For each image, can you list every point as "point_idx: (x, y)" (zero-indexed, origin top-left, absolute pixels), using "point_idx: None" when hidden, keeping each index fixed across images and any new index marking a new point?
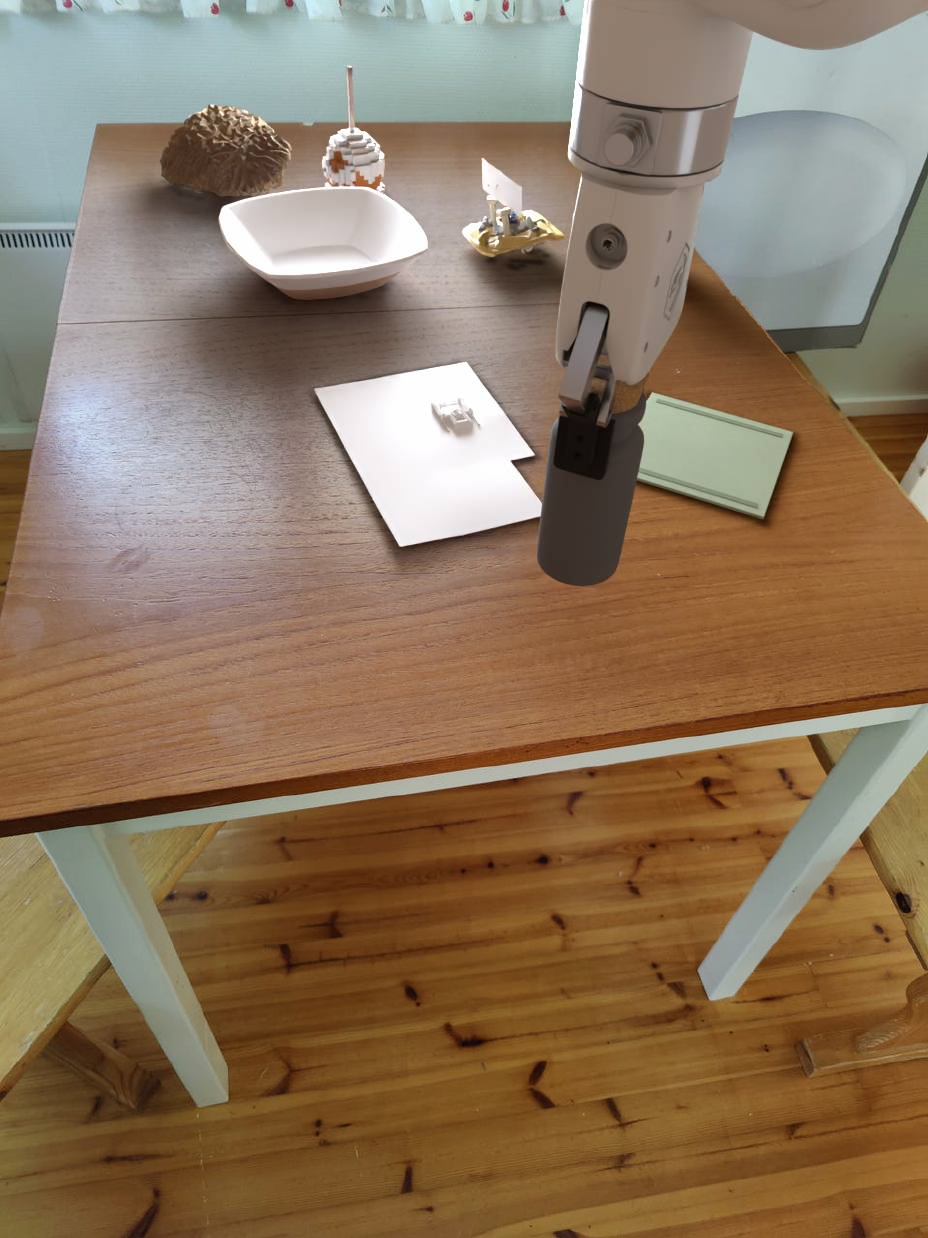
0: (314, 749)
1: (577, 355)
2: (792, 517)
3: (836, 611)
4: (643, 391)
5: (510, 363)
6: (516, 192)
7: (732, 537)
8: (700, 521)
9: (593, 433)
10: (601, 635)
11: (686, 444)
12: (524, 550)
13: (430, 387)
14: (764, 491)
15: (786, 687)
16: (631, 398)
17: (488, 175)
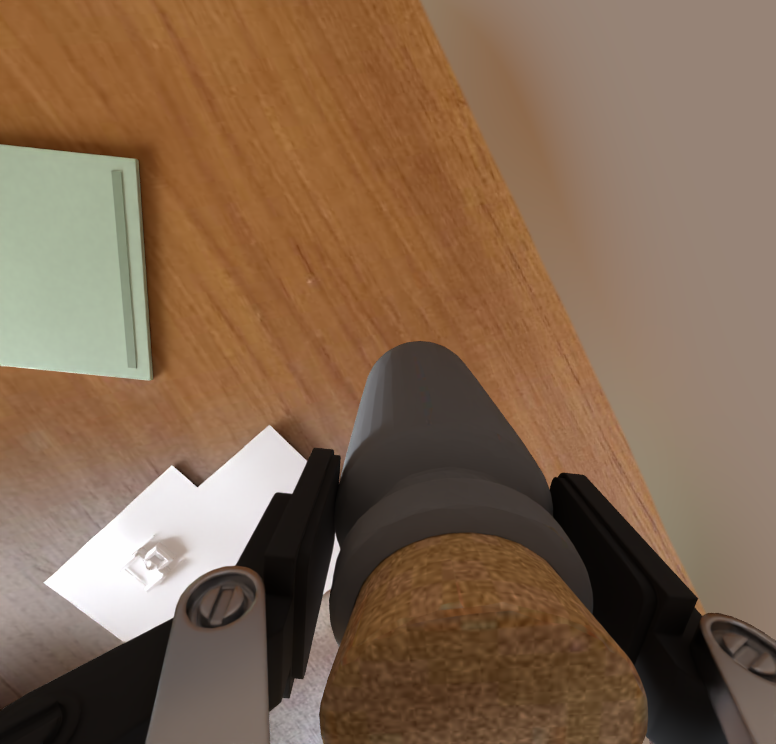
0: (639, 522)
1: None
2: (110, 115)
3: (276, 30)
4: (298, 492)
5: (10, 537)
6: None
7: (197, 199)
8: (187, 246)
9: (700, 618)
10: (430, 324)
11: (38, 292)
12: (335, 432)
13: (117, 599)
14: (78, 164)
15: (438, 92)
16: (571, 595)
17: None
